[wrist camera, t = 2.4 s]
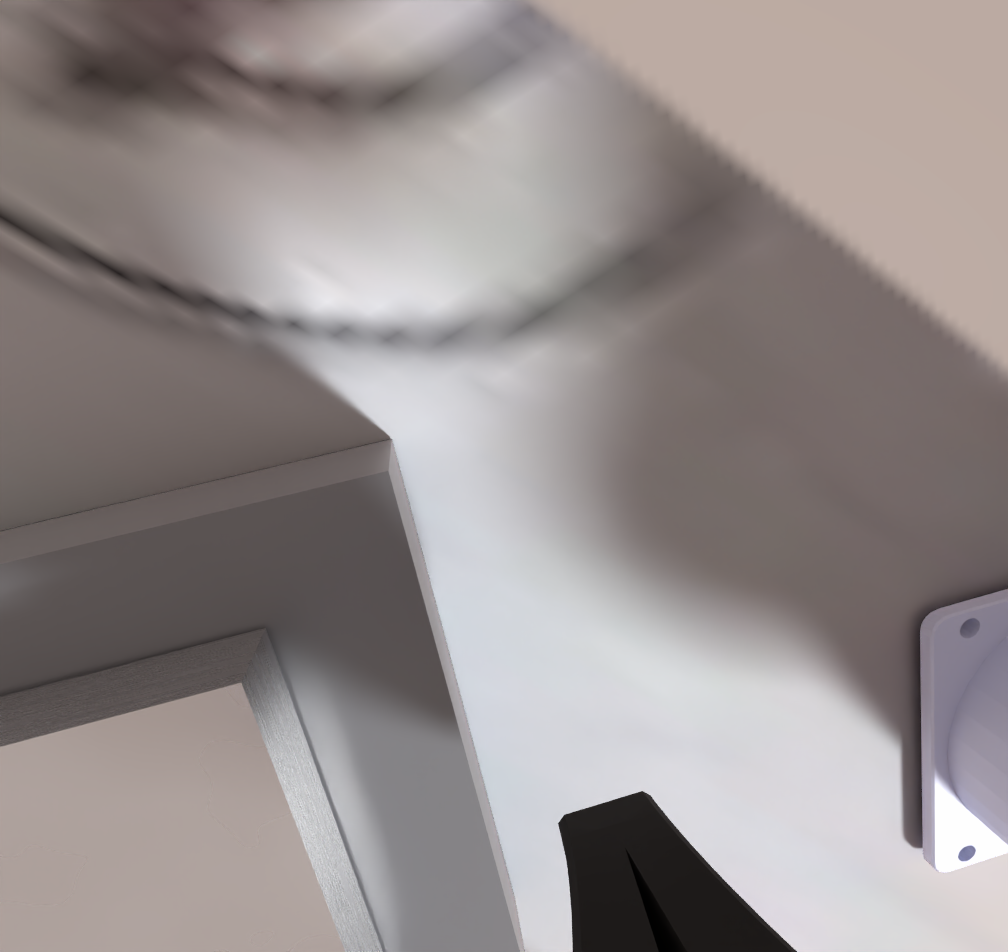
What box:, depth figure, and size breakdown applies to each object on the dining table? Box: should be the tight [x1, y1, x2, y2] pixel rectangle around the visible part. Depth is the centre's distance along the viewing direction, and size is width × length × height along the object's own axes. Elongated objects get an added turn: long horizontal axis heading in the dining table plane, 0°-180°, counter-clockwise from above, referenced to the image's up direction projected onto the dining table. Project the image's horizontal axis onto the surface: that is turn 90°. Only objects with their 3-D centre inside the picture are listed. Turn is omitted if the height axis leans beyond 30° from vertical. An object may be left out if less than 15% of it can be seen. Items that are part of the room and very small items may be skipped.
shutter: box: [0, 628, 383, 952], centre depth 10 cm, size 7×8×2 cm
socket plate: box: [0, 439, 525, 952], centre depth 12 cm, size 12×12×2 cm
